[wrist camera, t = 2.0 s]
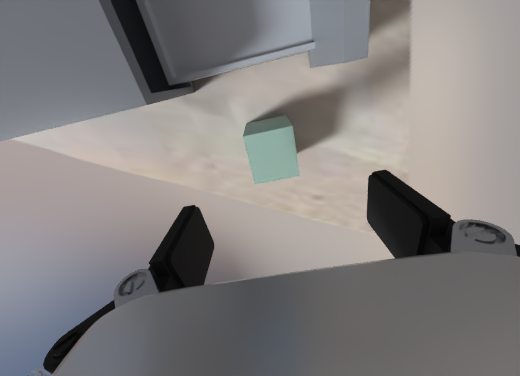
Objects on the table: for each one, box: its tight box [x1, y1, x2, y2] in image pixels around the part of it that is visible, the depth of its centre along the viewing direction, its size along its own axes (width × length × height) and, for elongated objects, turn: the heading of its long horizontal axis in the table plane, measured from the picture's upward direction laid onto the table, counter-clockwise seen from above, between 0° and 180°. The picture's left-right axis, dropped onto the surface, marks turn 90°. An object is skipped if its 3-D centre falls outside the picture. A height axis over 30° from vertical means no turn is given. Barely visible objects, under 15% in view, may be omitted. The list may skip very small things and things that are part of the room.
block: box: [243, 115, 299, 184], centre depth 19 cm, size 4×4×5 cm
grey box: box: [0, 0, 195, 141], centre depth 12 cm, size 12×12×9 cm
